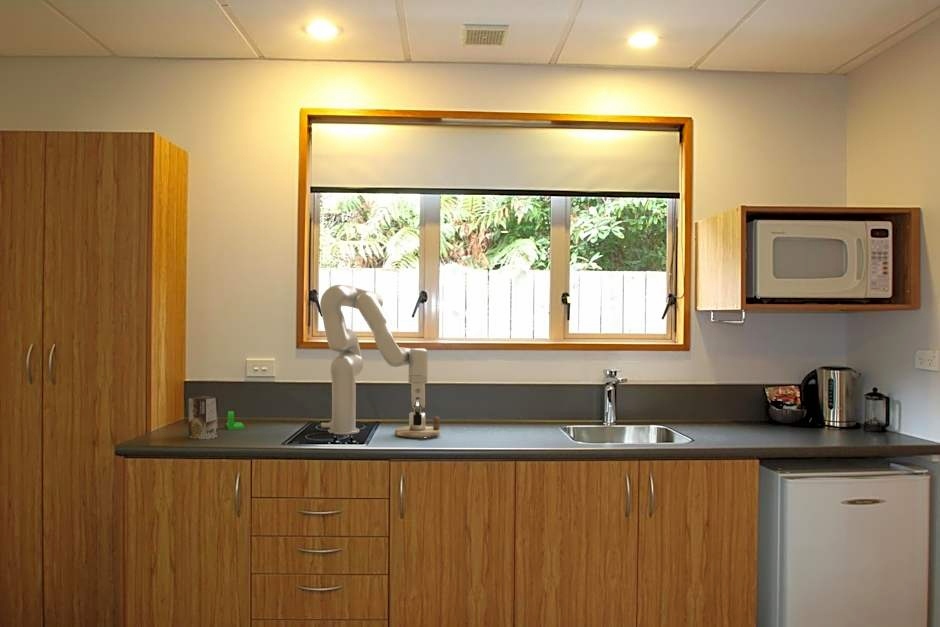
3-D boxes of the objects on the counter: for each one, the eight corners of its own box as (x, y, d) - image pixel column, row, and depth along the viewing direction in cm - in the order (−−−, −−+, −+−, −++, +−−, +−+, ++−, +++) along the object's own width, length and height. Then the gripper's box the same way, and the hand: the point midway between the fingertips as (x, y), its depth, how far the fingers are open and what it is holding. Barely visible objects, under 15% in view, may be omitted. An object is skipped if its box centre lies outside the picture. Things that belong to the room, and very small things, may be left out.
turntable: (387, 431, 288) (387, 415, 288) (427, 428, 297) (427, 412, 297) (406, 438, 272) (406, 421, 272) (448, 434, 281) (448, 418, 281)
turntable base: (401, 438, 278) (401, 436, 278) (402, 433, 290) (402, 431, 290) (432, 438, 279) (432, 436, 279) (432, 433, 291) (432, 431, 291)
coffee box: (218, 438, 275) (218, 397, 275) (205, 441, 269) (206, 398, 269) (200, 437, 279) (201, 395, 279) (187, 439, 273) (188, 397, 273)
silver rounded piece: (425, 430, 281) (425, 414, 281) (408, 430, 281) (408, 414, 281) (425, 428, 288) (425, 411, 288) (409, 428, 287) (409, 411, 287)
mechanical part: (244, 431, 295) (244, 411, 295) (228, 431, 292) (228, 412, 292) (241, 426, 306) (241, 408, 306) (226, 427, 303) (226, 408, 303)
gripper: (427, 381, 276) (427, 427, 276) (427, 377, 293) (426, 420, 293) (408, 381, 276) (407, 427, 276) (408, 377, 293) (408, 420, 293)
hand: (417, 423), depth 285 cm, fingers open, 7 cm apart
